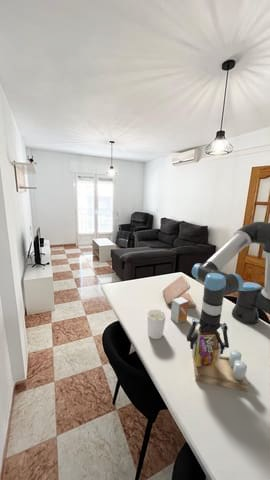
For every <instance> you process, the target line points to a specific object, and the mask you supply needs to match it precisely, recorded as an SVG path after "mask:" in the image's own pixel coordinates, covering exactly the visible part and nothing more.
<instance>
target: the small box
mask: <svg viewBox="0 0 270 480" xmlns="http://www.w3.org/2000/svg"><path fill="white" fill-rule="evenodd" d="M188 304H189V301H188V300H186V299H184V298H183V297H179V298H176V299H174V300H172V307H171V311H170V312H171V313H170V320H172V321H173V322H175V323H176V324H178V325H179V324H180V323H182V322H185V321H187V319H188V311H189V307H188Z"/></svg>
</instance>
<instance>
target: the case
mask: <svg viewBox="0 0 270 480" xmlns="http://www.w3.org/2000/svg"><path fill="white" fill-rule="evenodd" d="M190 289H191V285H190V283H189V281H188V280H187V279H186V278H185V276H183V275H181V276H179V277H177V279H175V280H174V281H173V282H172V283H170V284H169V285H168V286H166V287H165V288H164V289H163V290H162V294H163V297H164V299H165V303H166V306H167V307H168V308H172V300H174V299H176V298H179V297H183V298H184V299H186V300H188V301H189V304H188V308H195V307H196V306H197V304H196V303H195V302H194V300H193V299H192V297H191V295H190V294H189V293H188V291H189V290H190Z"/></svg>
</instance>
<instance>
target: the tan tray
mask: <svg viewBox="0 0 270 480" xmlns="http://www.w3.org/2000/svg"><path fill="white" fill-rule="evenodd" d="M193 358H194V357H192V360H193V361H192V362H193V371H194V381H195V382H198V383H203V384H208V385H213V386H218V387H224V388H228V389H234V390H238V391H244V392H249V388H250V384H249V382H248V380H247V378H246V377H245V378H244V381H243V382H239V381H237V380H235V379H234V378H233V376H232V373H233V368H231V367H230V366H229V364H228V362H229V356H223V355H220V359H219V362H217V364H216V365H213V366H198V367H197V365H196V363H195V361H194V359H193Z"/></svg>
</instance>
